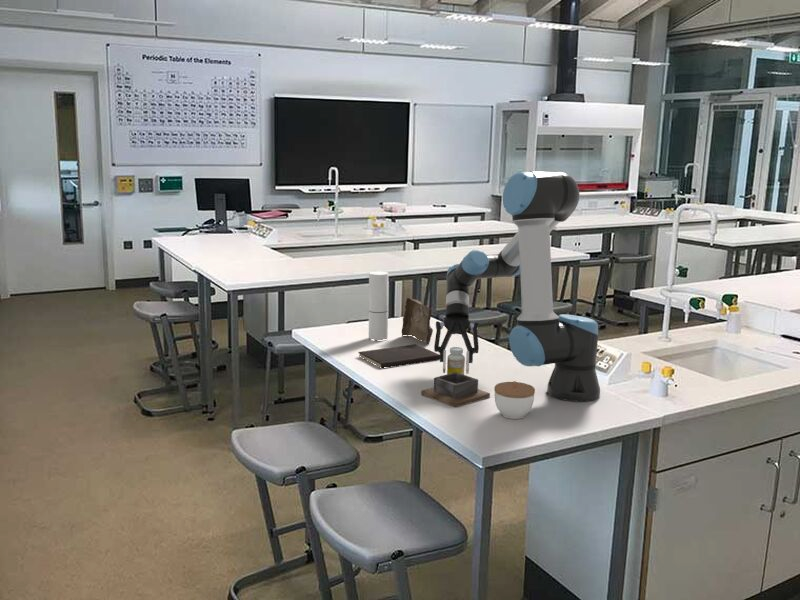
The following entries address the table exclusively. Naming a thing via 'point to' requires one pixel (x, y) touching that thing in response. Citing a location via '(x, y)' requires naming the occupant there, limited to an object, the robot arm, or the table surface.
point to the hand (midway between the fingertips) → (455, 371)
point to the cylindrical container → (378, 305)
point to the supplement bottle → (455, 361)
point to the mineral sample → (417, 320)
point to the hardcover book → (399, 355)
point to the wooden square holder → (455, 390)
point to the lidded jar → (514, 399)
